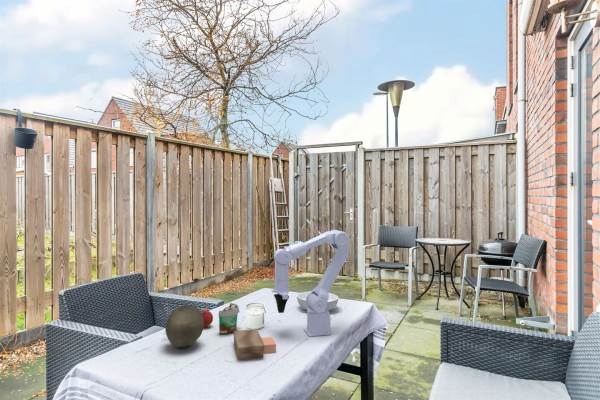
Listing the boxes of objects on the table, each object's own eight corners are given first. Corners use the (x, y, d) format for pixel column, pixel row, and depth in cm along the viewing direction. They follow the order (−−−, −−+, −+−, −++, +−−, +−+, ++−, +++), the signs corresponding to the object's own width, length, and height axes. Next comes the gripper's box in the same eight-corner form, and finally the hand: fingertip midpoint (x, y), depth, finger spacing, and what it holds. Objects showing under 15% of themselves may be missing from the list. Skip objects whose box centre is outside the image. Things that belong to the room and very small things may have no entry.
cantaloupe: (155, 350, 130) (156, 308, 130) (182, 337, 143) (182, 299, 143) (187, 357, 124) (188, 314, 124) (212, 343, 138) (212, 303, 138)
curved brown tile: (256, 341, 140) (257, 329, 140) (264, 359, 125) (264, 345, 125) (233, 343, 138) (233, 330, 138) (238, 361, 122) (238, 347, 122)
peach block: (271, 344, 137) (271, 336, 137) (275, 352, 130) (276, 344, 130) (245, 347, 134) (245, 339, 134) (248, 355, 128) (248, 346, 128)
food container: (232, 337, 143) (232, 312, 143) (217, 336, 145) (218, 311, 145) (243, 327, 156) (243, 303, 156) (229, 325, 157) (230, 302, 157)
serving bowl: (340, 316, 172) (340, 302, 172) (296, 315, 172) (296, 301, 172) (336, 304, 193) (336, 291, 193) (297, 303, 193) (297, 290, 193)
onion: (205, 330, 150) (205, 311, 150) (195, 327, 153) (196, 309, 153) (215, 326, 155) (216, 308, 155) (206, 324, 158) (206, 305, 158)
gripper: (268, 275, 153) (267, 307, 153) (275, 283, 139) (275, 318, 139) (284, 274, 154) (284, 306, 154) (293, 282, 141) (292, 317, 141)
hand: (280, 312), depth 147 cm, fingers closed
